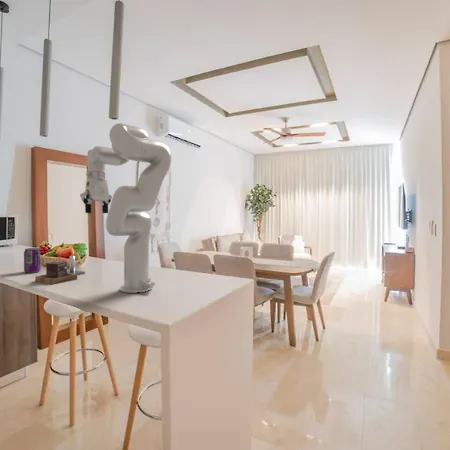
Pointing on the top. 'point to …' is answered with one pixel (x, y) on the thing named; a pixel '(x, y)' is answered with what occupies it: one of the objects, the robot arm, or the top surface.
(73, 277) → the tray
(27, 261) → the beverage can
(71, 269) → the gauge stand
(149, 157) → the robot arm
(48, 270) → the box
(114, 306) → the top surface
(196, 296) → the top surface
